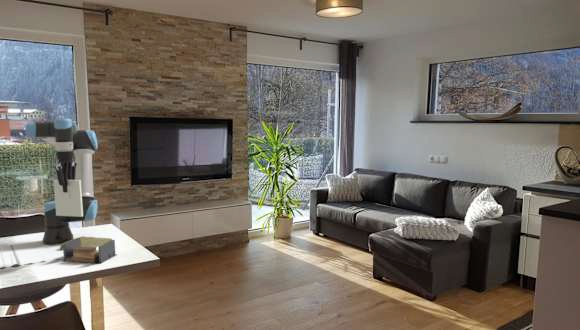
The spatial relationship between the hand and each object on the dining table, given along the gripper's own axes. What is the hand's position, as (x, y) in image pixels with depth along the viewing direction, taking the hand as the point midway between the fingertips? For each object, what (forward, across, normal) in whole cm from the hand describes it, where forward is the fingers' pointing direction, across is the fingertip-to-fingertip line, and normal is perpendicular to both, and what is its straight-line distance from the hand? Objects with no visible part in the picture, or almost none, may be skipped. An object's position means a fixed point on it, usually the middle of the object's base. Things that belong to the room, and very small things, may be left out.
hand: (68, 198), depth 208 cm
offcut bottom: (+28, -7, -13) cm, 32 cm away
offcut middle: (+26, -7, -14) cm, 30 cm away
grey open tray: (+31, +16, +4) cm, 35 cm away
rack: (+30, -4, -13) cm, 33 cm away
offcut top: (+24, -7, -12) cm, 28 cm away
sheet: (+9, 0, 0) cm, 9 cm away
